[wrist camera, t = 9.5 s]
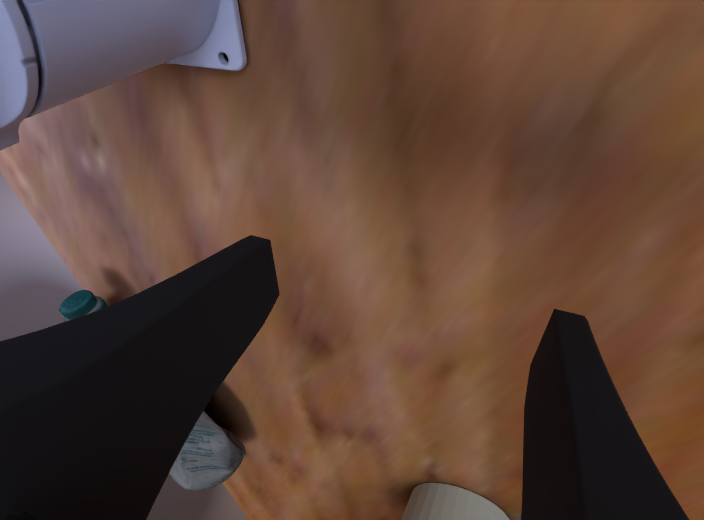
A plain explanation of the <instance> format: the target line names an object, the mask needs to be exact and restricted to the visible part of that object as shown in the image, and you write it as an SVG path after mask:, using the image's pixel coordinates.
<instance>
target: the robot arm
mask: <svg viewBox="0 0 704 520" xmlns="http://www.w3.org/2000/svg"><path fill="white" fill-rule="evenodd" d="M223 53H225V54H226V55H227V57H228V62H227V61H226V60H225V58H224V56H223ZM162 63H170V64H179V65H188V66H196V67H205V68H214V69H222V70H231V71H239V70H241V69H243V68H244V67H245V66H246V64H247V57H246V51H245V44H244V38H243V32H242V26H241V20H240V13H239V7H238V1H237V0H0V150H2V149H5V148H7V147H9V146H11V145H14V144H16V143H18V142H19V134H18V128H19V124H20V123H21V122H22V121H23V120H24V119H25V118H28V117H31V116H33V115H36V114H38V113H41V112H43V111H46V110H48V109H50V108H53V107H55V106H58V105H60V104H63V103H65V102H68V101H70V100H73V99H75V98H78V97H80V96H83V95H85V94H88V93H90V92H92V91H95V90H97V89H100V88H102V87H105V86H107V85H110V84H112V83H115V82H117V81H120V80H122V79H125V78H127V77H130V76H132V75H135V74H137V73H139V72H142V71H144V70H147V69H149V68H152V67H154V66H157V65H159V64H162ZM278 296H279V288H278V282H277V277H276V271H275V265H274V259H273V253H272V248H271V242H270V240H269V239H264V238H260V237H256V236H252V235H250V236H248V237H246V238H244V239H242V240H240V241H238V242H236V243H234V244H232V245H230V246H229V247H227V248H225V249H223V250H221V251H219V252H218V253H216V254H214V255H212V256H210V257H208V258H207V259H205V260H203V261H201V262H199V263H197V264H195V265H193V266H192V267H190V268H188V269H186V270H184V271H182V272H180V273H178V274H177V275H175V276H173V277H170V278H168V279H166V280H164V281H162V282H160V283H158V284H156V285H154V286H152V287H150V288H148V289H146V290H144V291H142V292H140V293H138V294H135V295H133V296H131V297H129V298H126V299H124V300H122V301H119V302H117V303H115V304H112V305H110V306H107V307H105V308H102V309H100V310H97V311H95V312H92V313H89V314H87V315H84V316H81V317H78V318H75V319H72V320H69V321H66V322H63V323H60V324H57V325H55V326H51V327H48V328H45V329H42V330H39V331H36V332H32V333H29V334H25V335H22V336H18V337H15V338H11V339H8V340H4V341H0V520H146V519H147V517H148V514H149V512H150V510H151V508H152V506H153V503H154V502H155V500H156V498H157V496H158V494H159V492H160V490H161V488H162V486H163V484H164V482H165V480H166V478H167V476H168V474H169V472H170V470H171V468H172V466H173V464H174V462H175V460H176V459H177V457H178V455H179V453H180V451H181V449H182V447H183V446H184V444H185V442H186V440H187V438H188V436H189V435H190V433H191V431H192V429H193V428H194V426H195V424H196V422H197V421H198V419H199V417H200V416H201V414H202V412H203V410H204V409H205V407H206V405H207V404H208V402H209V400H210V399H211V397H212V396H213V394H214V393H215V391H216V390H217V388H218V387H219V386H220V384H221V383H222V381H223V380H224V379H225V377H226V376H227V375H228V373H229V372H230V370H231V369H232V368H233V366H234V365H235V364H236V362H237V361H238V359H239V358H240V357H241V355H242V354H243V353H244V351H245V350H246V348H247V347H248V346H249V344H250V343H251V341H252V340H253V339H254V337H255V336H256V334H257V333H258V332H259V330H260V329H261V327H262V326H263V324H264V323H265V321H266V319H267V317H268V315H269V314H270V312H271V310H272V308H273V306H274V304H275V302H276V300H277V298H278ZM521 520H689V519H688V517H687V515H686V514H685V512H684V511H683V509H682V508H681V506H680V504H679V503H678V501H677V500H676V498H675V496H674V495H673V493H672V492H671V490H670V489H669V487H668V485H667V484H666V482H665V480H664V479H663V477H662V475H661V474H660V472H659V470H658V468H657V467H656V465H655V463H654V462H653V460H652V458H651V456H650V454H649V453H648V451H647V449H646V447H645V445H644V444H643V442H642V440H641V438H640V436H639V434H638V433H637V431H636V429H635V427H634V425H633V423H632V421H631V419H630V417H629V415H628V413H627V411H626V409H625V407H624V405H623V403H622V401H621V399H620V397H619V395H618V392H617V390H616V388H615V386H614V384H613V382H612V380H611V377H610V375H609V373H608V371H607V368H606V366H605V364H604V361H603V359H602V357H601V354H600V352H599V349H598V347H597V344H596V342H595V339H594V337H593V334H592V331H591V329H590V326H589V323H588V321H587V319H586V318H585V316H582V315H578V314H574V313H569V312H565V311H561V310H557V309H554V311H553V313H552V316H551V318H550V320H549V323H548V325H547V327H546V330H545V332H544V334H543V337H542V339H541V341H540V344H539V346H538V349H537V351H536V353H535V356H534V358H533V360H532V363H531V365H530V372H529V378H528V385H527V392H526V399H525V408H524V446H523V492H522V514H521Z"/></svg>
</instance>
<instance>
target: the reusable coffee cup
mask: <svg viewBox="0 0 704 520" xmlns="http://www.w3.org/2000/svg"><path fill="white" fill-rule="evenodd" d="M401 520H509V518H508V516H507V515H506V514H505V513H504V512H503V511H502V510H501V509H500V508H499V507H498V506H496V505H495V504H493V503H492V502H491V501H489V500H487V499H485V498H484V497H482V496H480V495H478V494H476V493H473V492H471V491H469V490H466V489H463V488H460V487H457V486H453V485H449V484H443V483H423V484H420V485H418V486H416V487H415V488H414V489H413V491H412V494H411V496H410V499H409V501H408V503H407V506H406V508H405V511H404V513H403V516H402V518H401Z"/></svg>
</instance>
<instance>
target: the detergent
mask: <svg viewBox="0 0 704 520" xmlns="http://www.w3.org/2000/svg"><path fill="white" fill-rule="evenodd" d="M107 306H108V305H107V304H106V302H105V301H104V300H103V299H102V298H101V297H97V296H94V295H93V293H92V292H90V291H89V290H81V291H78V292H75V293H74V294H72V295H71V296H69V297H68V298H67V299H66V300H64V301H63V302H62V304H61V306H60V309H59V311H60V312H61V313H62V314H63V315H64V322H66V321H69V320H72V319H75V318H78V317H81V316H84V315H87V314H89V313H92V312H95V311H97V310H100V309H102V308H105V307H107ZM244 455H246V450H245V447H244V445H243V444H242V442H241V441H240V440H239V439H238V438H236V437H235V436H234V435H233V434H232V433H231V432H230V431H228V430H226V429H224V428H221V427H220V426H218V425H217V424H216V423H215V422H214V421H213V420H212V419H211V418H210V417H209V416H208V415H207V414H206V413H205V412H204V411H203V412H202V414H201V416H200V417H199V419H198V421H197V422H196V424H195V426H194V428H193V429H192V431H191V433H190V435H189V436H188V438H187V440H186V442H185V444H184V446H183V447H182V449H181V451H180V453H179V455H178V457H177V459H176V460H175V462H174V464H173V466H172V468H171V470H170V472H169V474H170V475H171V477H172V478H173V479H174V480H175V482H176V483H178V484H179V485H180V486H181V487H183V488H185V489H188V490H205V489H209V488H213V487H216V486H217V485H218V484H220V483H222V482H224V481H225V480H227V479H228V478H229V477H230V476H231V475H232V474H233V473H234V472H235V471H236V469H237V468H238V467H239V465H240V464H241V462H242V459H243V457H244Z"/></svg>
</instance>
